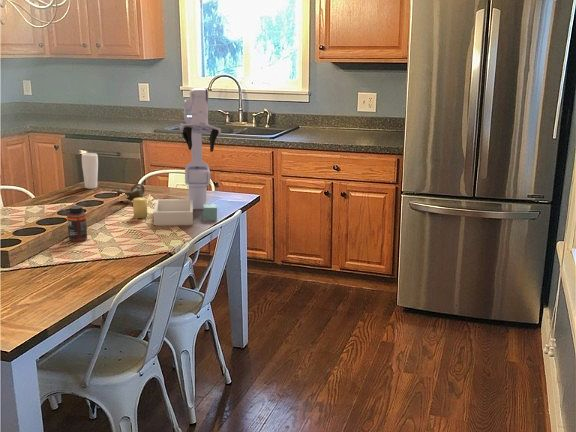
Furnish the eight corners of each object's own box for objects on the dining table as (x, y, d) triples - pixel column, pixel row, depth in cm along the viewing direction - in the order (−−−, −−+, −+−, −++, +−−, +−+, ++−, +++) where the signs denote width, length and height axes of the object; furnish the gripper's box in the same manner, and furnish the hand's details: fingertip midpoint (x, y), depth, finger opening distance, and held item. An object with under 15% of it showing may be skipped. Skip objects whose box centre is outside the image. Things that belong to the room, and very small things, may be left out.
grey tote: (156, 211, 243) (156, 199, 242) (192, 211, 245) (192, 199, 244) (153, 225, 226) (153, 212, 224) (192, 225, 228) (192, 212, 227)
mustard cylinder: (134, 215, 237) (133, 197, 236) (147, 215, 238) (147, 197, 236) (133, 219, 233) (132, 200, 231) (146, 219, 233) (146, 200, 232)
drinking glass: (80, 188, 272) (78, 155, 268) (87, 185, 279) (85, 152, 275) (94, 190, 271) (93, 156, 267) (101, 186, 278) (100, 153, 274)
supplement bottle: (89, 236, 211) (87, 204, 208) (84, 242, 205) (82, 209, 202) (71, 236, 211) (69, 204, 208) (66, 242, 205) (64, 208, 202)
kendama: (150, 196, 268) (137, 206, 249) (128, 195, 269) (113, 206, 249) (149, 182, 267) (136, 192, 247) (127, 181, 267) (112, 191, 248)
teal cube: (203, 216, 240) (203, 204, 238) (216, 216, 240) (216, 204, 239) (203, 220, 235) (203, 207, 234) (216, 220, 236) (216, 207, 234)
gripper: (182, 108, 218) (182, 140, 213) (222, 113, 223) (224, 145, 218) (178, 119, 224) (179, 151, 218) (217, 124, 229) (219, 155, 223)
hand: (201, 149), depth 218 cm, fingers open, 7 cm apart
